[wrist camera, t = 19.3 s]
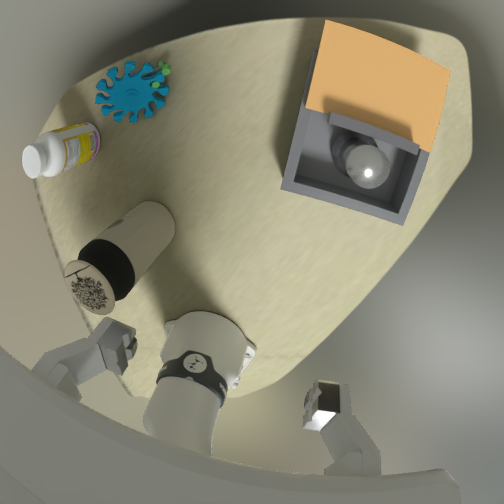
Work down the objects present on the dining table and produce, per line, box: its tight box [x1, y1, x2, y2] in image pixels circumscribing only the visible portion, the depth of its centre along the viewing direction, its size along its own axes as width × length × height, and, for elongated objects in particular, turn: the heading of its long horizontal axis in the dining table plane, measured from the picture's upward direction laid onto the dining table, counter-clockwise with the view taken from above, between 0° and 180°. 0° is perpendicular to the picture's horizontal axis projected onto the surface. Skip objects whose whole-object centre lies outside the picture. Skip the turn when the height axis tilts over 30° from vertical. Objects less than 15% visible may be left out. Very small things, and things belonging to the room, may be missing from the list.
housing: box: [280, 49, 430, 226], centre depth 29 cm, size 17×16×5 cm
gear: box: [95, 61, 170, 122], centre depth 30 cm, size 11×6×10 cm
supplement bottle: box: [22, 122, 100, 178], centre depth 32 cm, size 7×7×13 cm
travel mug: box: [65, 201, 176, 315], centre depth 35 cm, size 8×8×18 cm
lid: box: [305, 20, 450, 155], centre depth 22 cm, size 12×15×3 cm
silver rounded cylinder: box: [331, 131, 390, 189], centre depth 28 cm, size 6×6×8 cm
